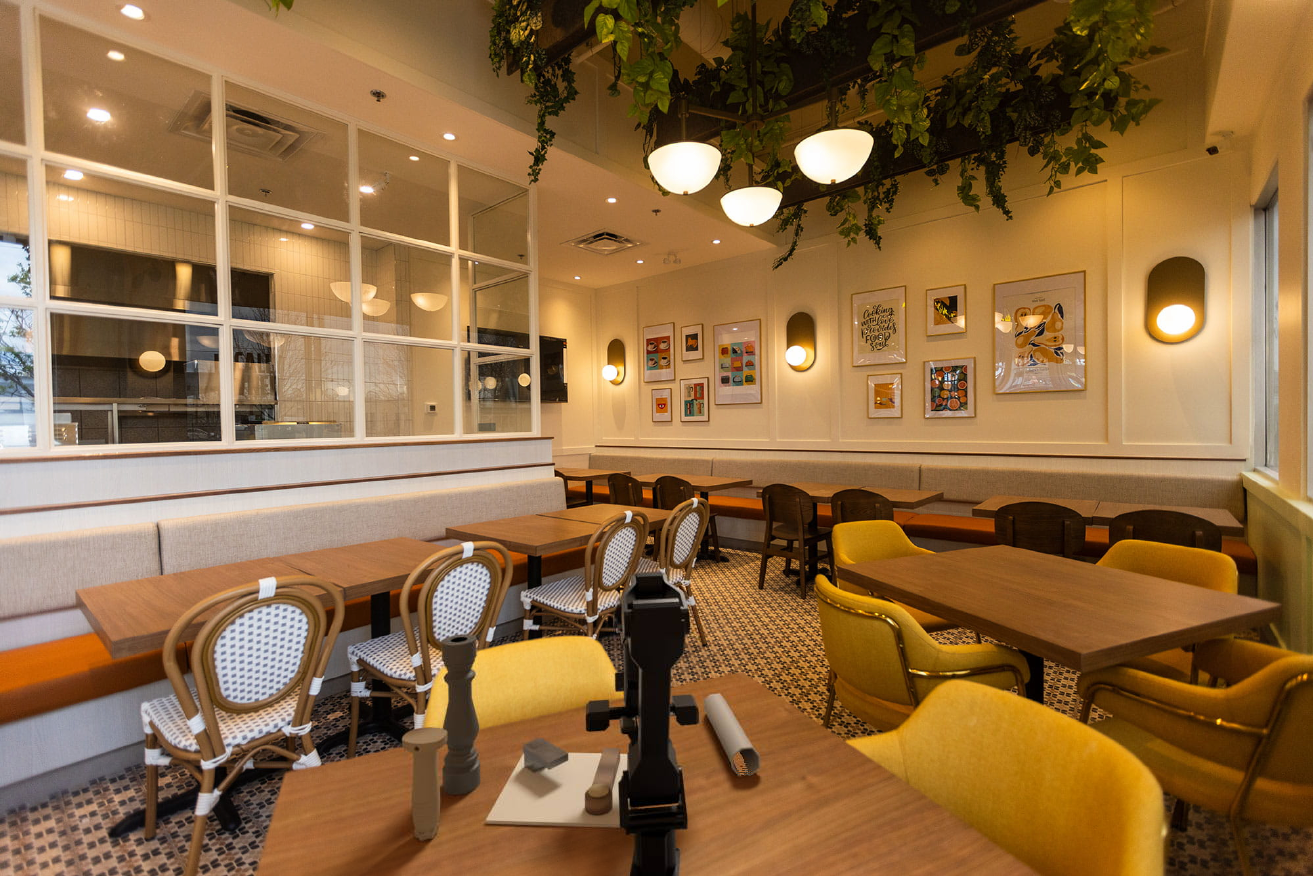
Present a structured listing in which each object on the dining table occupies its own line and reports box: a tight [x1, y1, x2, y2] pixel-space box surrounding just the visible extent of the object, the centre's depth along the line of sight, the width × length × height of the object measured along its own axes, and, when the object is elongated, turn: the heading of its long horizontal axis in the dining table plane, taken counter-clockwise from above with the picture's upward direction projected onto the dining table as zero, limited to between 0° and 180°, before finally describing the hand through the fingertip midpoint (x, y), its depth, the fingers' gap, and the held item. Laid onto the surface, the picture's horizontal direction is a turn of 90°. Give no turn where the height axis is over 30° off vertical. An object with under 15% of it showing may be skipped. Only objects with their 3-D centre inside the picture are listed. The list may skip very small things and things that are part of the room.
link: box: [585, 747, 621, 815], centre depth 99 cm, size 16×4×2 cm, turn 176°
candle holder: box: [441, 633, 481, 796], centre depth 101 cm, size 6×6×25 cm
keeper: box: [522, 737, 569, 773], centre depth 104 cm, size 8×4×4 cm, turn 46°
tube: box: [703, 693, 761, 777], centre depth 115 cm, size 5×5×25 cm
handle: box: [401, 726, 447, 842], centre depth 89 cm, size 5×6×15 cm
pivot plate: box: [485, 752, 632, 829], centre depth 100 cm, size 20×22×3 cm
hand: (642, 763), depth 99 cm, fingers closed
